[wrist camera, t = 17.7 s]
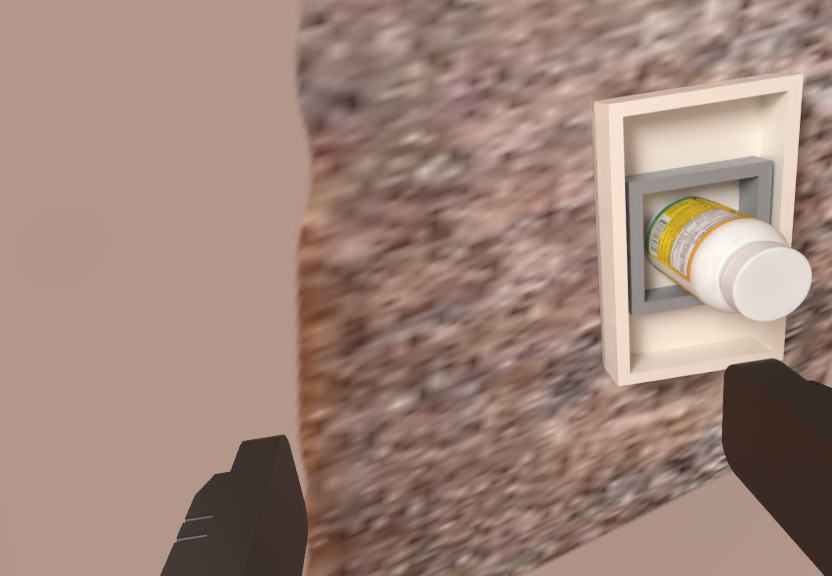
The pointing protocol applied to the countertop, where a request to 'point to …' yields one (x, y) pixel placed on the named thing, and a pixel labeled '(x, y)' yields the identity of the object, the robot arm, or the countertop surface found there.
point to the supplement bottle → (727, 258)
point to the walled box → (687, 176)
